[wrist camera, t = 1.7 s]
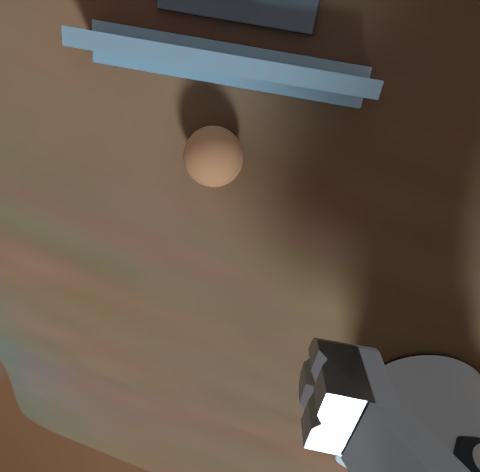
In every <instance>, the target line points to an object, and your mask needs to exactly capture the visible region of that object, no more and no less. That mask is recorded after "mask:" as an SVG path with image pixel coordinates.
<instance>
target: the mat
mask: <svg viewBox="0 0 480 472" xmlns="http://www.w3.org/2000/svg"><path fill="white" fill-rule="evenodd" d="M318 4H319V0H157V8H158V9H163V10H168V11H174V12H180V13H186V14H192V15H198V16H204V17H210V18H216V19H222V20H227V21H233V22H239V23H245V24H251V25H257V26H263V27H269V28H275V29H281V30H286V31H292V32H298V33H304V34H310V35H312V32H313V27H314V23H315V18H316V14H317V9H318Z"/></svg>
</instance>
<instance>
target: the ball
mask: <svg viewBox="0 0 480 472" xmlns="http://www.w3.org/2000/svg"><path fill="white" fill-rule="evenodd" d="M183 158H184V164H185V167H186V169H187V171H188V173H189V174H190V176H191V177H192V178H193V179H194V180H195V181H197V182H198V183H200V184H202V185H204V186H208V187H220V186H224V185H226V184H228V183H230V182H231V181H233V180H234V179H235V178H236V177H237V175H238V174H239V172H240V170H241V168H242V165H243V158H244V156H243V149H242V146H241V143H240V141H239V140H238V138H237V137H236V136H235V135H234V134H233V133H232V132H231V131H229V130H228V129H226V128H223V127H220V126H206V127H202V128H200V129H198V130H197V131H195V132H194V133H193V134H192V135H191V136H190V137H189V139H188V140H187V142H186V144H185V148H184V153H183Z"/></svg>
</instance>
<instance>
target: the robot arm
mask: <svg viewBox="0 0 480 472" xmlns="http://www.w3.org/2000/svg"><path fill="white" fill-rule="evenodd" d="M308 350H309V358H310V359H308V360H307V361H305V362H304V363H303V366H302V370H301V373H300V380H299V402H300V403H301V405H302V406H303V408H304V409H305V410H304V413H303V416H302V418H301V425H302V436H303V446H304V448H306V449H311V450H315V451H320V452H325V453H329V454H334V456H335V460H336V461H337V462H338V463H339V464H341V465H342V466H344V467H346V468H347V469H348V471H349V472H480V374H479V373H478V372H477V371H476V370H475V369H474V368H472V367H471V366H469V365H468V364H466V363H464V362H462V361H459V360H456V359H453V358H449V357H445V356H437V355H420V356H412V357H407V358H402V359H399V360H396V361H393V362H391V363H388V364H386V365H384V362H383V360H382V357H381V355H380V352H379V351H378V350H377V349H376V348H373V347H367V346H361V345H353V344H347V343H342V342H336V341H331V340H325V339H319V338H313V340H312V341H311V344H310V346H309V349H308Z"/></svg>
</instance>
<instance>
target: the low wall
mask: <svg viewBox="0 0 480 472" xmlns="http://www.w3.org/2000/svg"><path fill="white" fill-rule="evenodd" d="M61 30H62V45H63V46H68V47H74V48H80V49H86V50H91V51H93V62H95V63H101V64H107V65H113V66H118V67H124V68H130V69H135V70H141V71H147V72H153V73H158V74H164V75H170V76H176V77H181V78H187V79H193V80H198V81H204V82H210V83H216V84H221V85H227V86H233V87H239V88H244V89H250V90H256V91H261V92H267V93H273V94H279V95H284V96H290V97H296V98H302V99H307V100H313V101H319V102H324V103H330V104H336V105H342V106H347V107H353V108H359V109H360V108H361V105H362V101H363V98H368V99H374V100H378V99H379V96H380V93H381V89H382V86H383V83H384V81H381V80H376V79H370V74H371V71H372V68H373V67H368V66H362V65H356V64H351V63H345V62H339V61H333V60H327V59H321V58H315V57H310V56H304V55H298V54H292V53H286V52H280V51H275V50H269V49H263V48H257V47H251V46H245V45H240V44H234V43H228V42H222V41H216V40H210V39H205V38H199V37H193V36H187V35H181V34H175V33H169V32H164V31H158V30H152V29H146V28H140V27H134V26H129V25H123V24H117V23H111V22H105V21H99V20H94V19H92V31H91V30H85V29H79V28H74V27H68V26H62V25H61Z"/></svg>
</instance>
